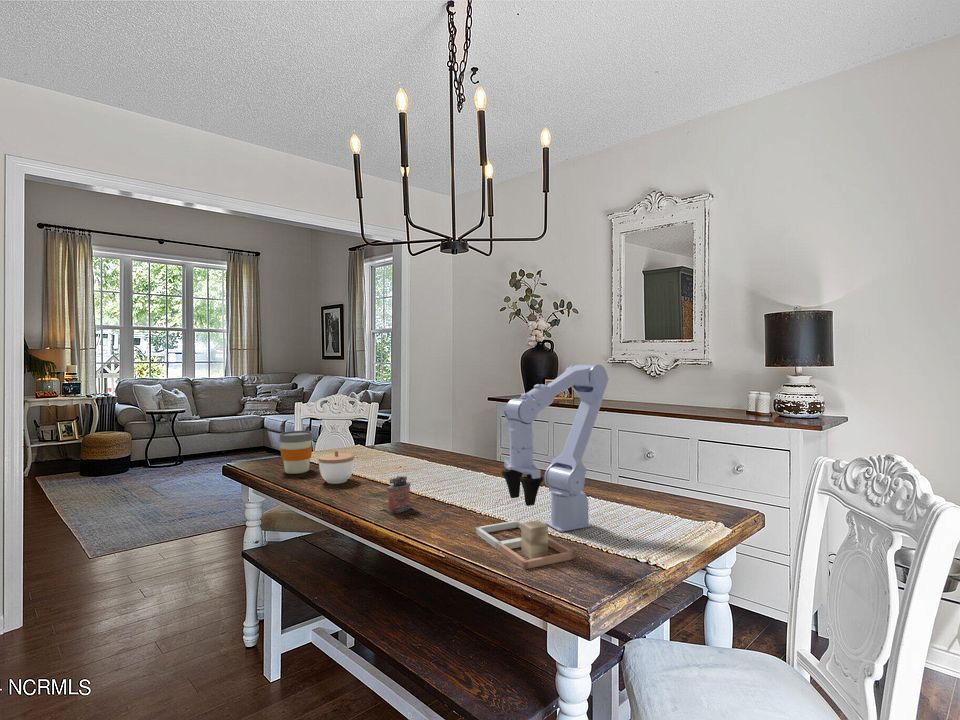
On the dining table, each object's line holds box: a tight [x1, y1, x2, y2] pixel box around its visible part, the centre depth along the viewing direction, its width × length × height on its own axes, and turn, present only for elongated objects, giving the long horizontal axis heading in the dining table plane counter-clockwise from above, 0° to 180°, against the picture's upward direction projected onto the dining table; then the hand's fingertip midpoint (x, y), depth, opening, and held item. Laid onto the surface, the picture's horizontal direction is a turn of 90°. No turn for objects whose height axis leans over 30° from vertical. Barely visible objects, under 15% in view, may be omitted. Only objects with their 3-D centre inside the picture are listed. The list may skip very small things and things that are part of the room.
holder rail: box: [474, 519, 576, 570], centre depth 135 cm, size 13×26×2 cm, turn 25°
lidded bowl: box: [317, 450, 355, 485], centre depth 202 cm, size 13×13×11 cm
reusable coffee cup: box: [278, 430, 313, 475], centre depth 220 cm, size 13×13×15 cm
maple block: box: [520, 519, 549, 559], centre depth 129 cm, size 4×4×7 cm
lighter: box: [386, 475, 412, 515], centre depth 166 cm, size 8×3×10 cm, turn 141°
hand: (522, 501), depth 139 cm, fingers open, 7 cm apart
